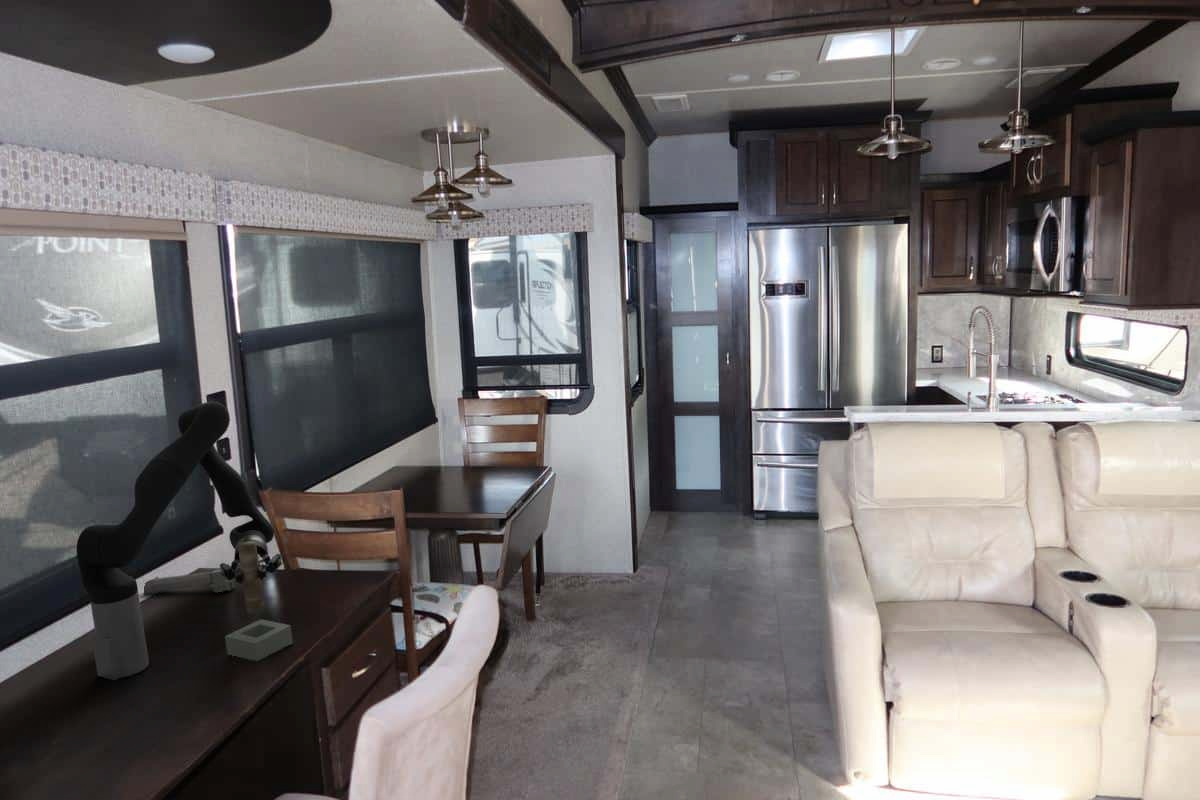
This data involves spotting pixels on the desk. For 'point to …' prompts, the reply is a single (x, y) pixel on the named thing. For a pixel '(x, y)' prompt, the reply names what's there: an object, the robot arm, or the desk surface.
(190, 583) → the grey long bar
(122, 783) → the desk surface
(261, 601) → the peg
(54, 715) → the desk surface
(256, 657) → the socket
